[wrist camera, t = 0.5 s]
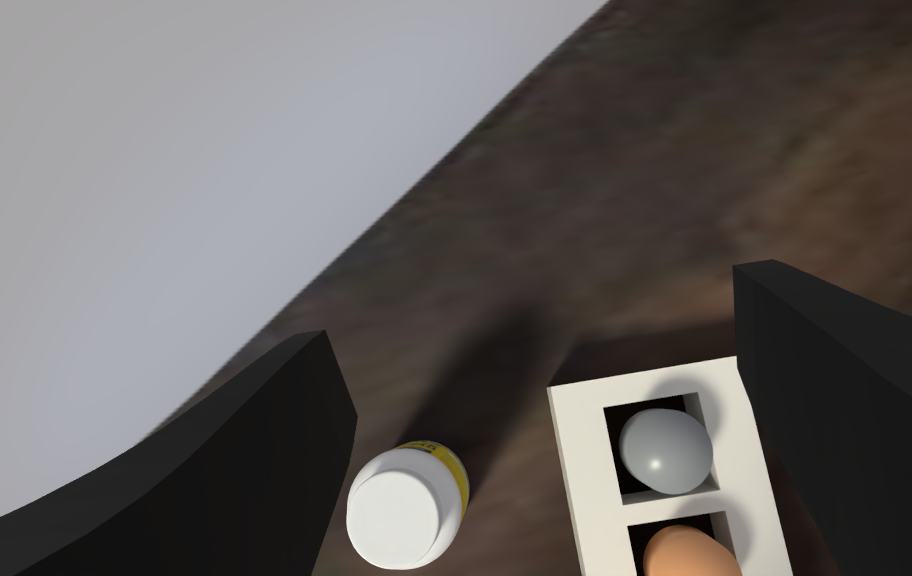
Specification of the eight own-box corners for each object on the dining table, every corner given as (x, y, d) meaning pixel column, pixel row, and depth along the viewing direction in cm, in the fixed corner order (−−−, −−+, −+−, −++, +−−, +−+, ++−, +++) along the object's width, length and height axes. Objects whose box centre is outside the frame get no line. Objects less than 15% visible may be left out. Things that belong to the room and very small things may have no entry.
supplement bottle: (448, 424, 36) (429, 435, 27) (484, 515, 35) (477, 560, 26) (362, 459, 36) (312, 483, 27) (395, 551, 35) (356, 610, 26)
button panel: (811, 743, 32) (842, 778, 29) (618, 769, 33) (629, 807, 30) (719, 358, 36) (738, 355, 33) (546, 387, 36) (550, 386, 33)
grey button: (703, 479, 33) (722, 487, 30) (627, 491, 33) (638, 500, 30) (686, 402, 33) (702, 403, 31) (611, 415, 34) (621, 416, 31)
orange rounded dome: (731, 601, 32) (753, 620, 29) (652, 612, 32) (666, 633, 29) (712, 519, 32) (732, 530, 30) (635, 531, 33) (647, 543, 30)
